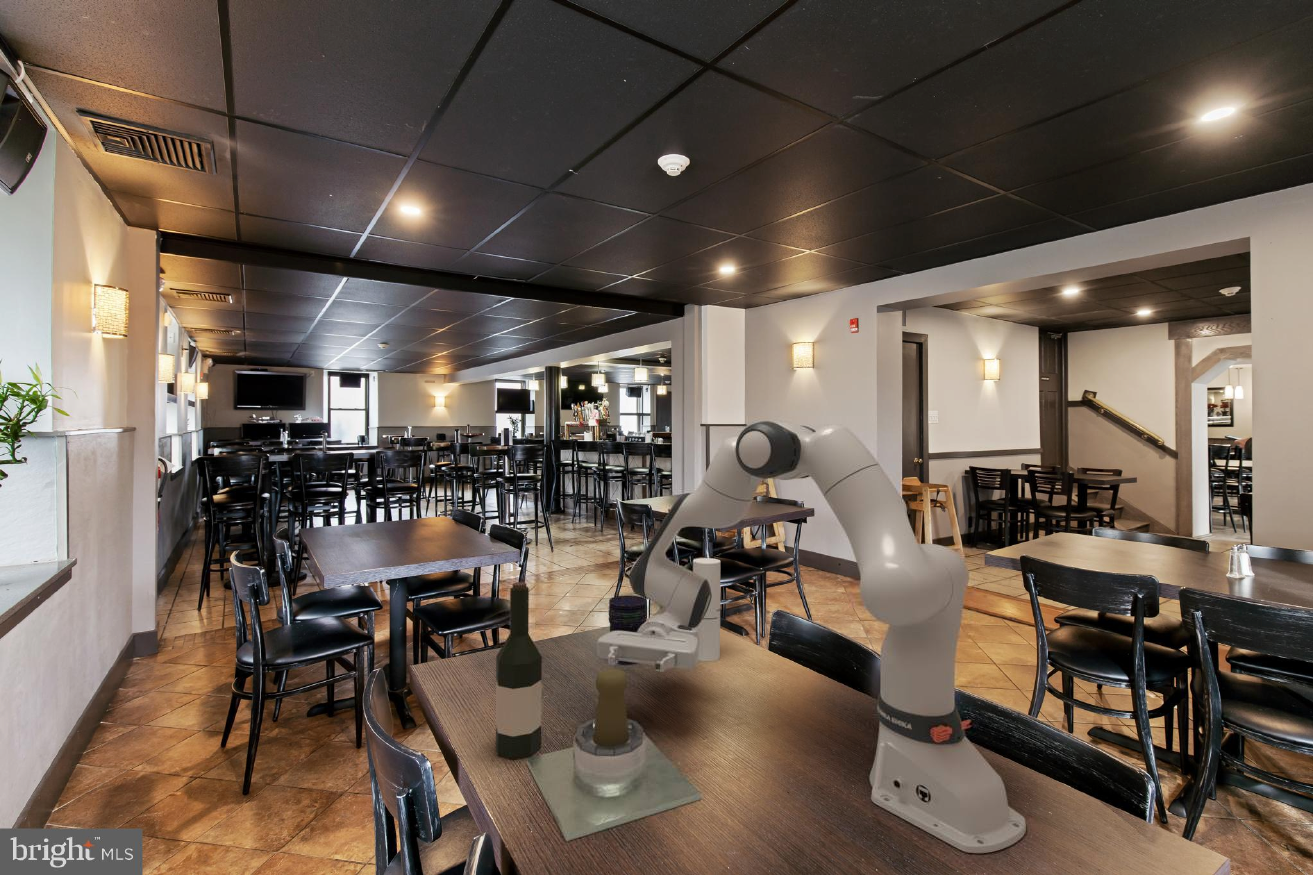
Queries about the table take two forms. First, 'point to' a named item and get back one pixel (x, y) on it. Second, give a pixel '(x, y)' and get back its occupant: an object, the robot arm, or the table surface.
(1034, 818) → the table surface
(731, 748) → the table surface
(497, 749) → the wine bottle
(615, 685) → the cork
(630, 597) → the storage jar
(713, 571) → the cylindrical container
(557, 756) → the duct stub
